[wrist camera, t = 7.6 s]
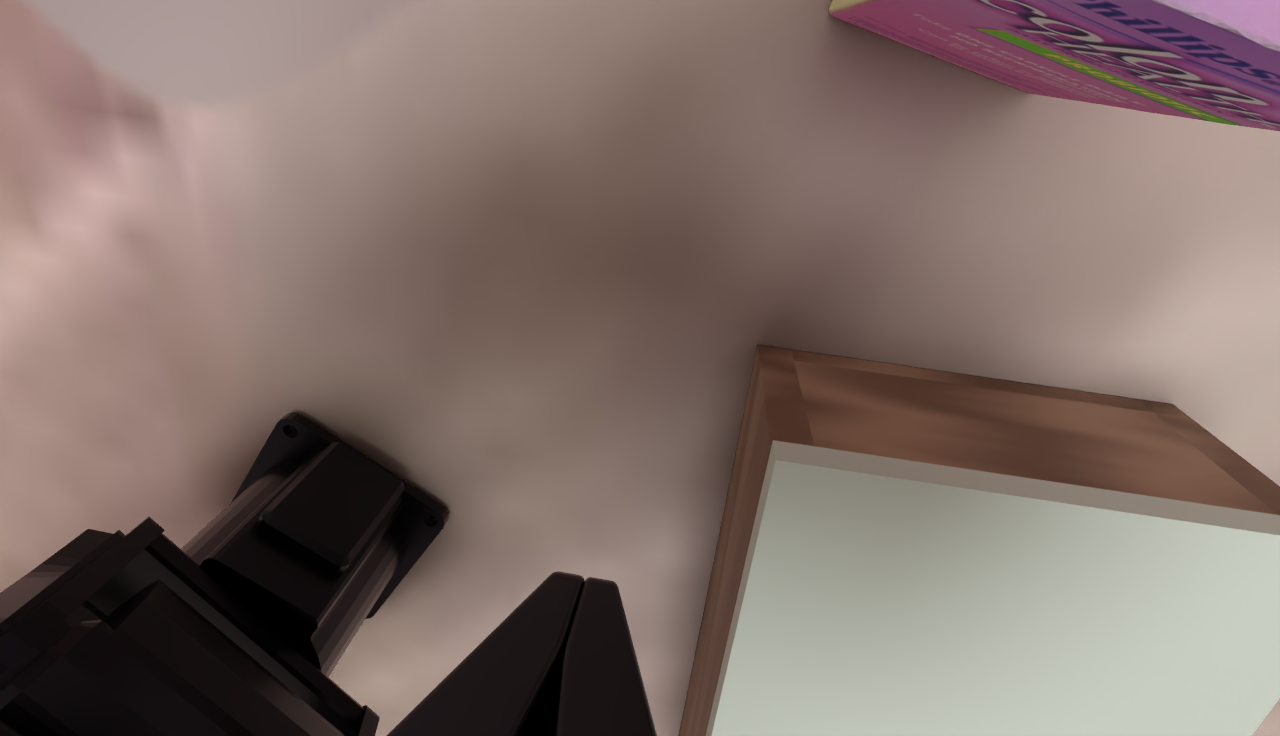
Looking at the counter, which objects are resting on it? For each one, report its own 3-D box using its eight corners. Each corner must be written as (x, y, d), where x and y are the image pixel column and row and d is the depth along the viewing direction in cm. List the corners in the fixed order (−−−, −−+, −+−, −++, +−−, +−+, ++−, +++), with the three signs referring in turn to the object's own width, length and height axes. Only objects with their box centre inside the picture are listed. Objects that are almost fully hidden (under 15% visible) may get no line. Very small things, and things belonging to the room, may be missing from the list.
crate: (677, 743, 28) (666, 903, 22) (757, 344, 20) (770, 446, 15) (972, 795, 27) (1032, 972, 22) (1173, 404, 19) (1339, 532, 14)
